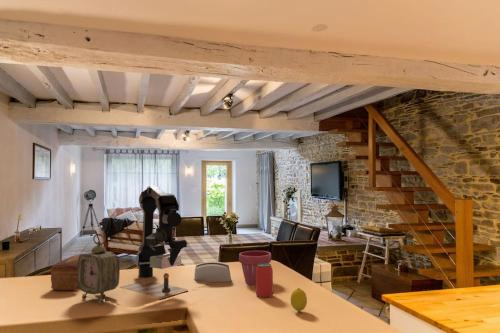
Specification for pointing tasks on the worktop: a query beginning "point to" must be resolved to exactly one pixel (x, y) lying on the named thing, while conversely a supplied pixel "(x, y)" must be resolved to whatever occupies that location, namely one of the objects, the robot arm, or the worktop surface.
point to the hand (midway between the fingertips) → (165, 264)
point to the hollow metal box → (163, 261)
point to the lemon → (298, 299)
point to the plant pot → (253, 263)
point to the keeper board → (156, 288)
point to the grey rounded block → (212, 272)
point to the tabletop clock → (98, 271)
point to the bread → (65, 274)
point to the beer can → (264, 280)
